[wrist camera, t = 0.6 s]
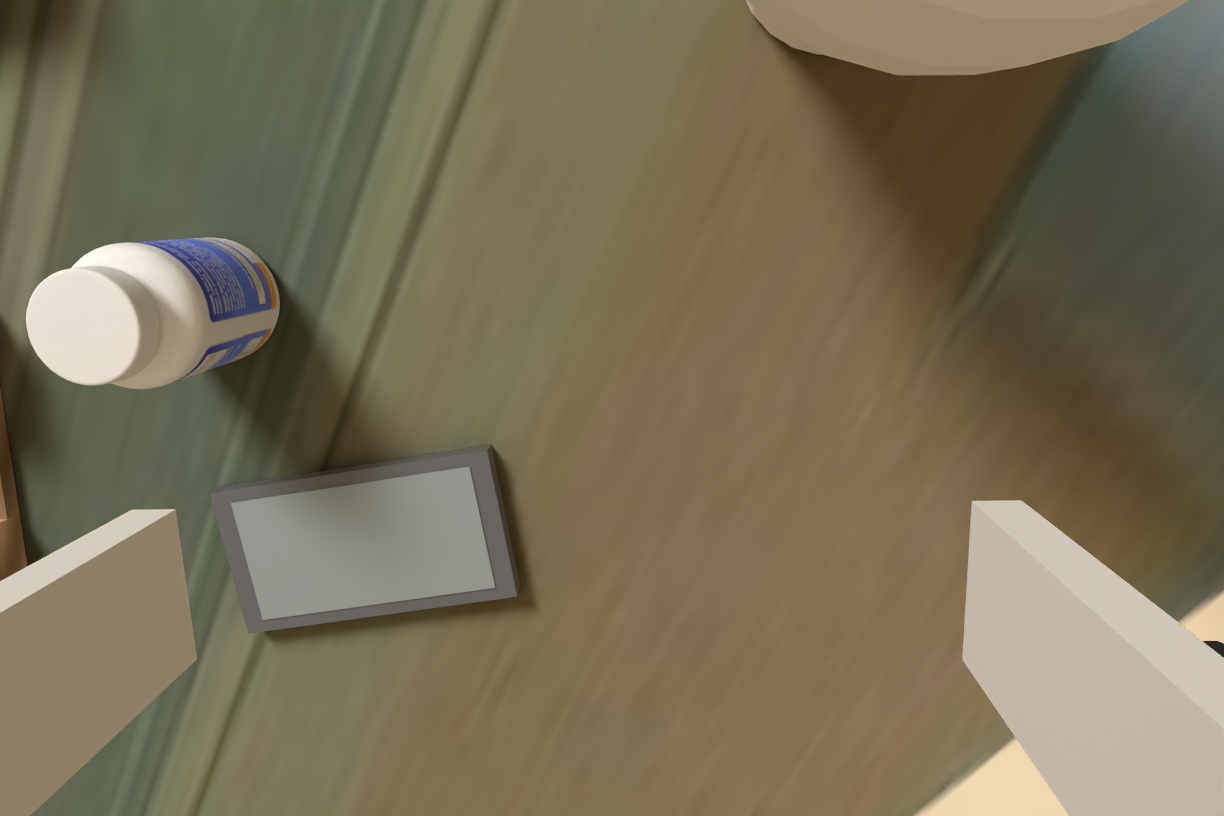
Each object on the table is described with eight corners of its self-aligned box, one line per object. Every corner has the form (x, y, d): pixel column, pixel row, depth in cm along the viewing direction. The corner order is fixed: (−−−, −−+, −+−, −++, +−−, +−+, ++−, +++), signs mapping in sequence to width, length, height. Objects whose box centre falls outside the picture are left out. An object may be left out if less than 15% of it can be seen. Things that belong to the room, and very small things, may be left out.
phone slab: (220, 486, 40) (208, 493, 39) (491, 444, 39) (486, 450, 38) (258, 623, 42) (247, 634, 40) (520, 587, 40) (517, 597, 39)
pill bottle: (174, 223, 38) (9, 224, 28) (293, 255, 38) (169, 267, 28) (157, 342, 39) (-6, 382, 29) (273, 373, 39) (147, 422, 29)
